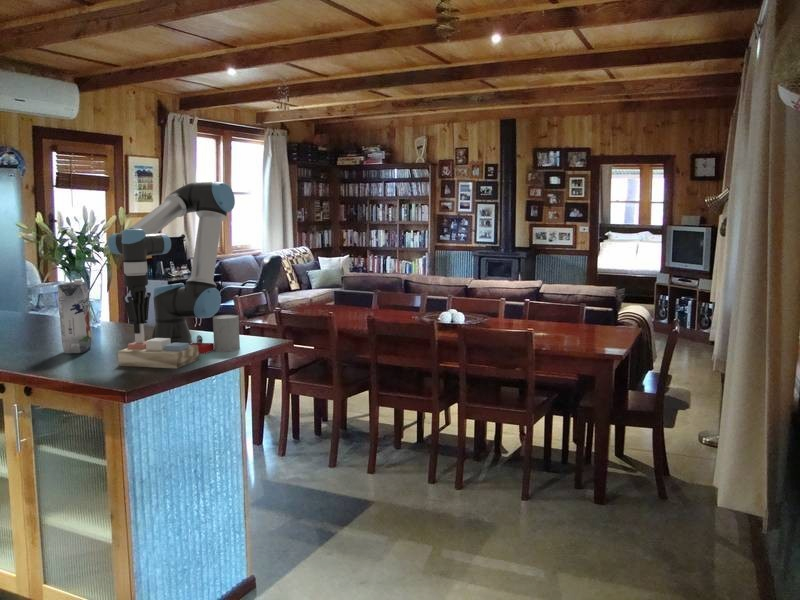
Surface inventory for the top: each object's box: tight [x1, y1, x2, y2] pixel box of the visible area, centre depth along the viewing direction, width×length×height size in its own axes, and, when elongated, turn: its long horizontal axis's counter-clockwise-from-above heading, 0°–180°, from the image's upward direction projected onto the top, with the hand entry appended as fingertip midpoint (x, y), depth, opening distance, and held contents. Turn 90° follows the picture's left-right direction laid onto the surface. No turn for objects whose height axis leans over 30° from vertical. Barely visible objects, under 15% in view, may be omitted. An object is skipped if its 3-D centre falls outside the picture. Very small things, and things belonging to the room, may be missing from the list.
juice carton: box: [57, 278, 92, 354], centre depth 262 cm, size 9×10×27 cm
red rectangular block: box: [189, 334, 215, 354], centre depth 261 cm, size 8×7×6 cm
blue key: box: [165, 342, 190, 351], centre depth 240 cm, size 6×6×3 cm
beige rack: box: [117, 345, 200, 369], centre depth 242 cm, size 14×22×5 cm, turn 76°
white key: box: [146, 338, 171, 350], centre depth 242 cm, size 6×6×3 cm
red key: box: [127, 340, 147, 350], centre depth 244 cm, size 6×6×3 cm
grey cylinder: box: [211, 314, 241, 353], centre depth 264 cm, size 10×10×12 cm
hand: (139, 342), depth 243 cm, fingers closed
